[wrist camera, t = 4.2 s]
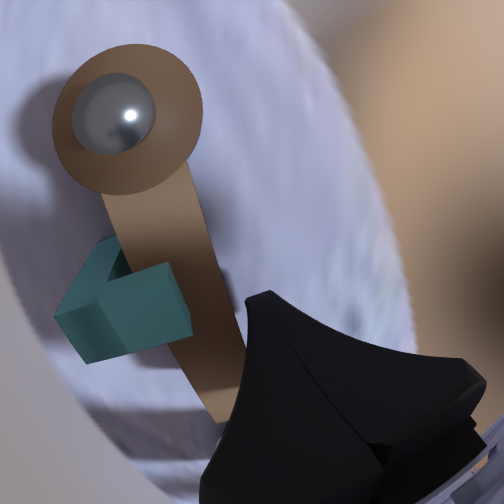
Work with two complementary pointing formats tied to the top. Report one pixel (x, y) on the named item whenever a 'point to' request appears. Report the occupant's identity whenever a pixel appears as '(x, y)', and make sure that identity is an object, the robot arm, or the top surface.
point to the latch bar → (162, 210)
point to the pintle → (114, 114)
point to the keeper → (121, 306)
